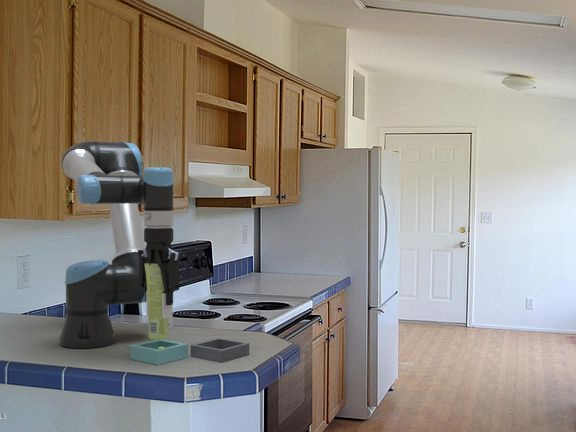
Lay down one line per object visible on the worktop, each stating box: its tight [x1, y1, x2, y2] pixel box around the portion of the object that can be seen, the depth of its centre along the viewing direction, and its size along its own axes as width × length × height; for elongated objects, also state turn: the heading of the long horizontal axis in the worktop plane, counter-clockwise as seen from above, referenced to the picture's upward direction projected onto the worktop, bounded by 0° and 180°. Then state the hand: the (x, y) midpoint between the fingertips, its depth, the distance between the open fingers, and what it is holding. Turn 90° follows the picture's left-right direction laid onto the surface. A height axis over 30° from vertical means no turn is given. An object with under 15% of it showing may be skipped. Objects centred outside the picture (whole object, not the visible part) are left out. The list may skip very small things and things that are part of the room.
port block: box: [129, 339, 189, 366], centre depth 187 cm, size 10×10×4 cm
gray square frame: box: [190, 337, 250, 363], centre depth 190 cm, size 11×11×3 cm
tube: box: [145, 263, 169, 340], centre depth 186 cm, size 6×5×20 cm
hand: (159, 316), depth 187 cm, fingers closed on tube, 5 cm apart
